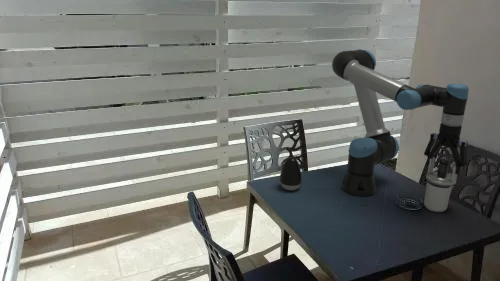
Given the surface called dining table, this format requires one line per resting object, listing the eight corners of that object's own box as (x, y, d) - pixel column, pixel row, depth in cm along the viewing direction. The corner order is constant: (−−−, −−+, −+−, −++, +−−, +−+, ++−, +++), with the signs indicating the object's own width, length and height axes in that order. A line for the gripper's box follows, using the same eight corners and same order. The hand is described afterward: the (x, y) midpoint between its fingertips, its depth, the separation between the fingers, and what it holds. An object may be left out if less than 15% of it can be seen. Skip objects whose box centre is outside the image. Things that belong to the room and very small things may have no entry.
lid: (420, 178, 157) (424, 158, 154) (434, 172, 163) (438, 153, 160) (447, 188, 149) (451, 167, 146) (460, 181, 155) (465, 160, 152)
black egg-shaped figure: (305, 186, 177) (307, 156, 173) (295, 195, 169) (297, 163, 164) (285, 181, 183) (287, 151, 178) (275, 189, 174) (276, 158, 169)
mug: (436, 215, 153) (441, 190, 150) (418, 205, 161) (422, 181, 157) (456, 208, 158) (461, 184, 155) (438, 199, 166) (442, 176, 162)
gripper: (419, 119, 154) (411, 170, 162) (476, 132, 138) (464, 188, 145) (429, 116, 159) (421, 166, 166) (485, 128, 142) (473, 183, 149)
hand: (441, 176), depth 156 cm, fingers closed on lid, 9 cm apart
